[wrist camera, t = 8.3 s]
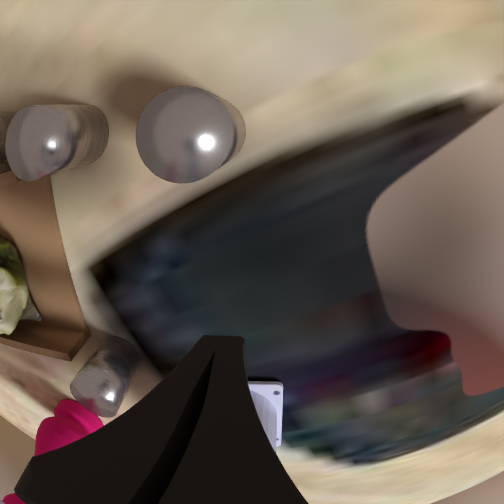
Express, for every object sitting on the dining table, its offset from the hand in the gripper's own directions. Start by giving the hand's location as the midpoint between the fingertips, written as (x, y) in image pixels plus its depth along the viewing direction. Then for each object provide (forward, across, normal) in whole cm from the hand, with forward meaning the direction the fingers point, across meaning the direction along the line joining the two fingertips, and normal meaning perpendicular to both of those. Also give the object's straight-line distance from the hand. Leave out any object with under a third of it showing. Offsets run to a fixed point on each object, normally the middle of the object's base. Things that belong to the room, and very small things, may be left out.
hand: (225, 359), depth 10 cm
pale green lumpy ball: (+10, +22, +2) cm, 24 cm away
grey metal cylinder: (+10, +2, -7) cm, 12 cm away
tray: (+10, +20, 0) cm, 23 cm away
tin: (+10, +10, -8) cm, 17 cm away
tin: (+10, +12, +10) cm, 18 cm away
